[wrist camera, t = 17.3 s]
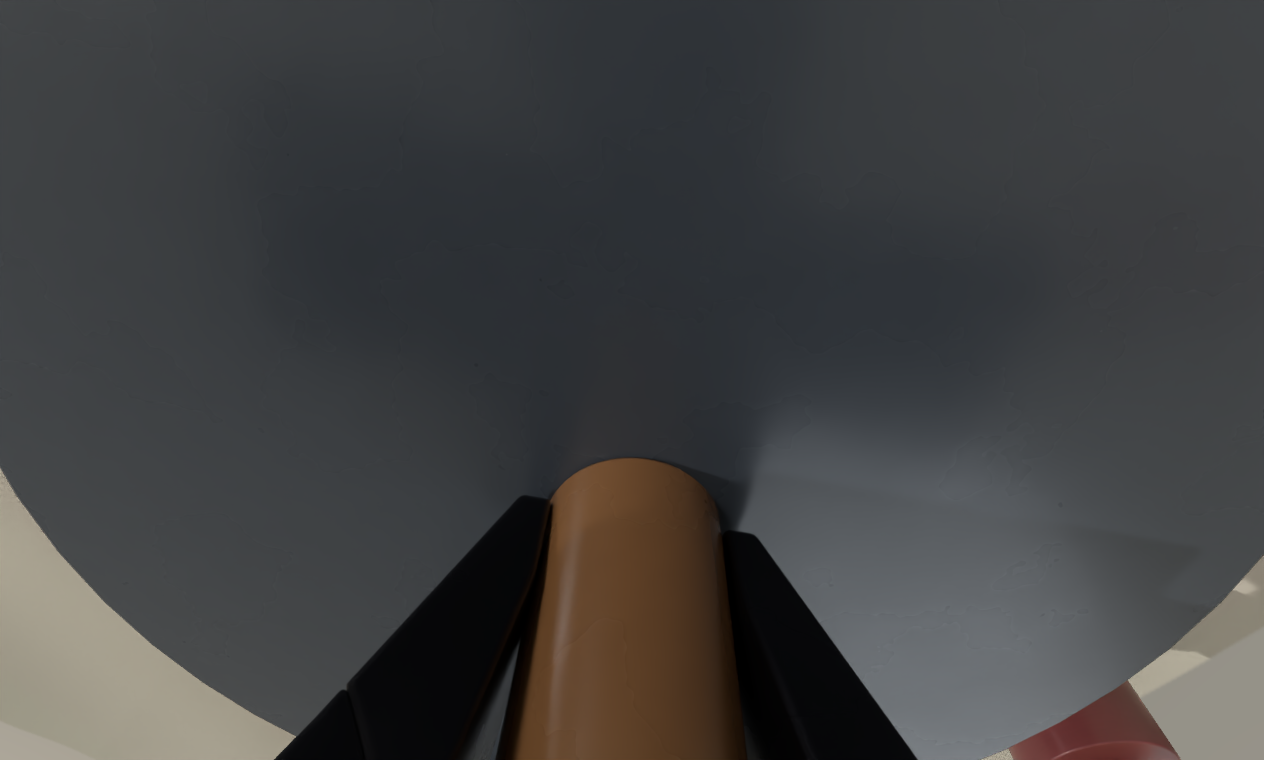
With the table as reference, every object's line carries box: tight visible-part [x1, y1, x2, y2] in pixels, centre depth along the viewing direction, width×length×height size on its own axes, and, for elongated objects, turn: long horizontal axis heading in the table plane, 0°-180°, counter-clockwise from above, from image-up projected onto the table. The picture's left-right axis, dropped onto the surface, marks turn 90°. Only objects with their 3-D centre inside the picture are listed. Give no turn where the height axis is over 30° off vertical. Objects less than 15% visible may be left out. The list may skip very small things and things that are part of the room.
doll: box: [1008, 680, 1181, 760], centre depth 16 cm, size 4×4×10 cm
